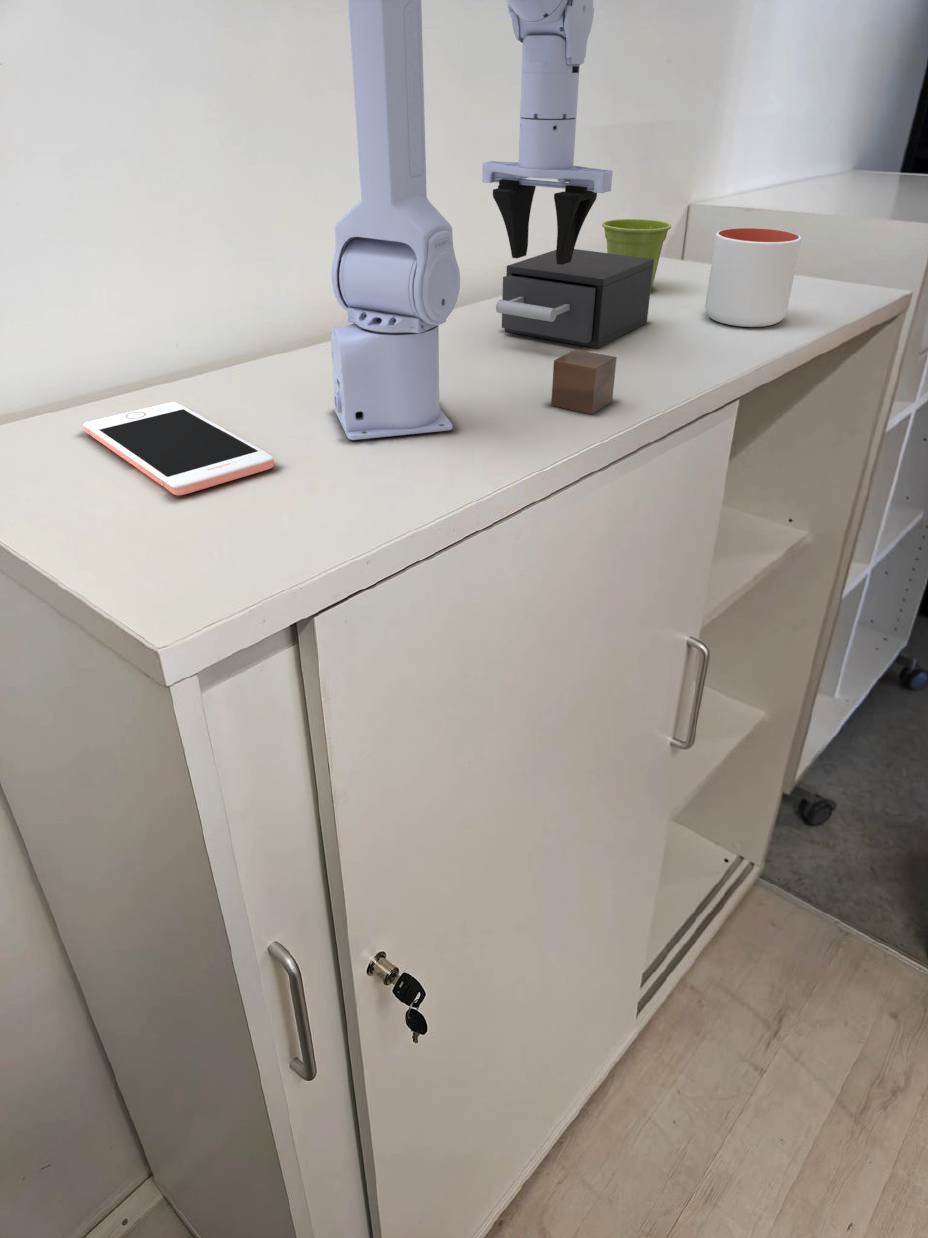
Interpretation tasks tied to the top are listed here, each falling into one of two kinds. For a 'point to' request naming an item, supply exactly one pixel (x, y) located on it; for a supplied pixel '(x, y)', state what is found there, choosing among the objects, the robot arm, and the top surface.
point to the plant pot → (636, 238)
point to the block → (583, 381)
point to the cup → (751, 276)
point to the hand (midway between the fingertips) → (541, 259)
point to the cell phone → (178, 447)
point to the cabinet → (599, 289)
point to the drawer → (548, 307)
